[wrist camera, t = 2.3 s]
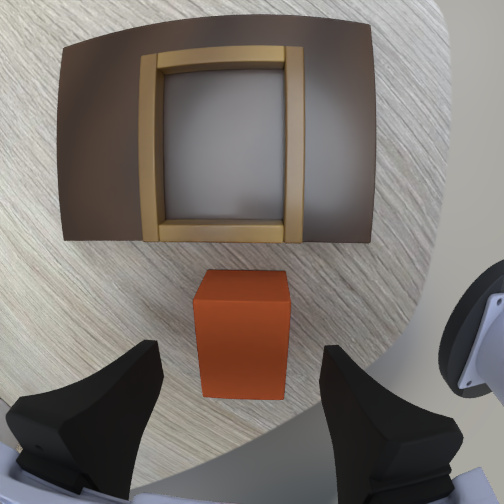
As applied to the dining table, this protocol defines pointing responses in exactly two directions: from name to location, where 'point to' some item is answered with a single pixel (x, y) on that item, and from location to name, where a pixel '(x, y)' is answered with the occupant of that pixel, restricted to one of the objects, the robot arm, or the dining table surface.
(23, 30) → the dining table surface
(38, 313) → the dining table surface
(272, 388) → the orange block
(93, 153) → the base pad
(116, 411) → the robot arm
